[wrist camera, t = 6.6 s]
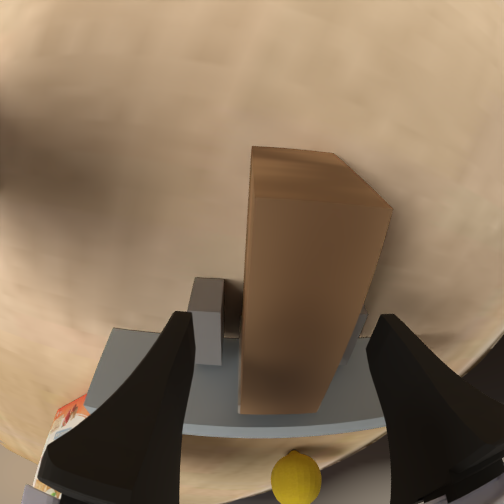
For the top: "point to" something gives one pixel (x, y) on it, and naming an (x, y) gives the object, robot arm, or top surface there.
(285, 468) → the lemon
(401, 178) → the top surface
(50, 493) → the cracker box
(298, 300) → the block
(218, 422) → the grey plank with pegs
